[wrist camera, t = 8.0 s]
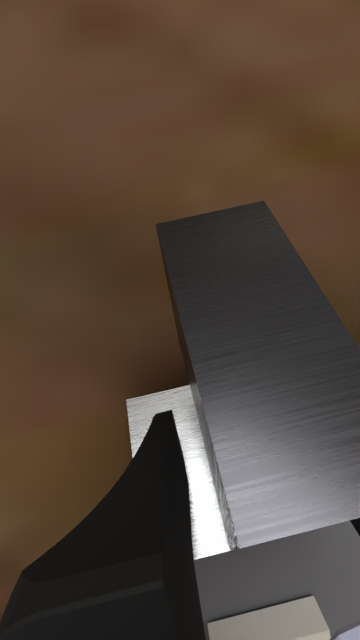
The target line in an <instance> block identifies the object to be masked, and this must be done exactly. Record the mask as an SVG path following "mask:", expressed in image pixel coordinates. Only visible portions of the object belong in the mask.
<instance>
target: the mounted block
mask: <svg viewBox="0 0 360 640" xmlns="http://www.w3.org/2000/svg"><path fill="white" fill-rule="evenodd" d="M156 228H157V233H158V238H159V243H160V248H161V253H162V258H163V263H164V268H165V273H166V278H167V283H168V288H169V293H170V298H171V303H172V308H173V313H174V318H175V323H176V328H177V333H178V338H179V343H180V347H181V351H182V355H183V360H184V364H185V368H186V372H187V376H188V380H189V384H190V385H187V386H183V387H179V388H174V389H170V390H166V391H162V392H157V393H153V394H149V395H145V396H141V397H136V398H132V399H128V400H126V402H127V411H128V420H129V429H130V439H131V448H132V457H134V456H135V454H136V452H137V450H138V449H139V447H140V445H141V443H142V441H143V439H144V437H145V435H146V433H147V431H148V429H149V426H150V424H151V422H152V419H153V417H154V415H155V414H156V413H160V412H165V411H169V410H172V411H173V415H174V420H175V424H176V428H177V432H178V436H179V440H180V445H181V449H182V453H183V457H184V462H185V468H186V474H187V479H188V487H189V501H190V516H191V531H192V547H193V557H194V560H196V559H200V558H204V557H208V556H212V555H215V554H219V553H223V552H227V551H232V550H236V549H241V548H245V547H248V546H252V545H256V544H260V543H264V542H268V541H272V540H276V539H280V538H283V537H287V536H291V535H295V534H299V533H303V532H307V531H311V530H314V529H318V528H322V527H326V526H330V525H334V524H338V523H342V522H346V521H349V520H353V519H357V518H360V349H359V348H358V346H357V345H356V343H355V342H354V340H353V339H352V337H351V335H350V334H349V332H348V331H347V329H346V328H345V326H344V325H343V323H342V321H341V320H340V318H339V317H338V315H337V314H336V312H335V311H334V309H333V307H332V306H331V304H330V303H329V301H328V300H327V298H326V297H325V295H324V293H323V292H322V290H321V289H320V287H319V286H318V284H317V283H316V281H315V279H314V278H313V276H312V275H311V273H310V272H309V270H308V269H307V267H306V266H305V264H304V262H303V261H302V259H301V258H300V256H299V255H298V253H297V252H296V250H295V248H294V247H293V245H292V244H291V242H290V241H289V239H288V238H287V236H286V234H285V233H284V231H283V230H282V228H281V227H280V225H279V224H278V222H277V220H276V219H275V217H274V216H273V214H272V213H271V211H270V210H269V208H268V206H267V205H266V203H265V202H264V201H261V202H256V203H251V204H247V205H242V206H238V207H233V208H228V209H224V210H219V211H214V212H210V213H205V214H201V215H196V216H191V217H187V218H182V219H178V220H173V221H168V222H164V223H159V224H156Z"/></svg>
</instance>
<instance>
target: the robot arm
mask: <svg viewBox="0 0 360 640" xmlns="http://www.w3.org/2000/svg"><path fill="white" fill-rule="evenodd" d="M350 522H351V523H352V525H353V526H354V528H355V530H356V531H357V533H358V534H359V536H360V518H357V519H353V520H350ZM0 640H206V637H205V630H204V624H203V618H202V611H201V605H200V599H199V592H198V585H197V579H196V572H195V566H194V557H193V547H192V531H191V516H190V501H189V487H188V479H187V474H186V468H185V462H184V457H183V453H182V449H181V445H180V440H179V436H178V432H177V428H176V424H175V420H174V415H173V411H172V410H169V411H165V412H160V413H156V414H155V415H154V417H153V419H152V422H151V424H150V426H149V429H148V431H147V433H146V435H145V437H144V439H143V441H142V443H141V445H140V447H139V449H138V450H137V452H136V454H135V456H134V457H133V459H132V460H131V462H130V464H129V465H128V467H127V469H126V470H125V472H124V473H123V475H122V476H121V477H120V479H119V480H118V481H117V483H116V484H115V485H114V487H113V488H112V489H111V490H110V492H109V493H108V494H107V495H106V496H105V497H104V498H103V499H102V500H101V502H100V503H99V504H98V505H97V506H96V507H95V508H94V509H93V510H92V512H91V513H90V514H89V515H88V516H87V517H86V518H85V519H84V520H82V521H81V522H80V523H79V524H78V525H77V526H76V527H75V528H74V529H73V530H72V531H71V532H70V533H69V534H67V535H66V536H65V537H64V538H63V539H62V540H61V541H59V542H58V543H57V544H56V545H55V546H53V547H52V548H51V549H50V550H48V551H47V552H46V553H44V554H43V555H42V556H41V557H39V558H38V559H37V560H36V561H34V562H33V563H32V564H31V565H29V566H28V567H27V568H25V569H24V570H23V571H22V573H21V575H20V577H19V579H18V581H17V583H16V585H15V587H14V590H13V592H12V594H11V596H10V599H9V601H8V604H7V606H6V609H5V611H4V614H3V616H2V619H1V621H0ZM330 640H360V620H359V621H356V622H354V623H352V624H350V625H348V626H346V627H344V628H342V629H340V630H338V631H337V632H336V633H335V634H334V635H333V636H332V637H331V639H330Z"/></svg>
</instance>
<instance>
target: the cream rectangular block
mask: <svg viewBox="0 0 360 640" xmlns="http://www.w3.org/2000/svg"><path fill="white" fill-rule="evenodd" d="M207 625H208V632H209V638H210V640H330V639H331V638H330V630H329V628H328V626H327V623H326V621H325V619H324V617H323V615H322V613H321V610H320V608H319V606H318V604H317V602H316V600H315V597H314V596H310V597H305V598H301V599H298V600H294V601H290V602H286V603H282V604H279V605H275V606H271V607H267V608H263V609H260V610H256V611H252V612H248V613H244V614H241V615H237V616H233V617H229V618H225V619H222V620H218V621H214V622H211V623H207Z"/></svg>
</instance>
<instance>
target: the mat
mask: <svg viewBox="0 0 360 640" xmlns="http://www.w3.org/2000/svg"><path fill="white" fill-rule="evenodd" d="M194 566H195V572H196V579H197V585H198V592H199V599H200V605H201V611H202V618H203V624H204V630H205V637H206V640H210V638H209V632H208V625H207V623H211V622H214V621H218V620H222V619H225V618H229V617H233V616H237V615H241V614H244V613H248V612H252V611H256V610H260V609H263V608H267V607H271V606H275V605H279V604H282V603H286V602H290V601H294V600H298V599H301V598H305V597H310V596H314V597H315V600H316V602H317V604H318V606H319V608H320V610H321V613H322V615H323V617H324V619H325V621H326V623H327V626H328V628H329V630H330V638H331V637H332V636H333V635H334V634H335V633H336V632H337V631H338V630H340V629H342V628H344V627H346V626H348V625H350V624H352V623H354V622H356V621H359V620H360V536H359V534H358V533H357V531H356V530H355V528H354V526H353V525H352V523H351V522H350V520H349V521H346V522H342V523H338V524H334V525H330V526H326V527H322V528H318V529H314V530H311V531H307V532H303V533H299V534H295V535H291V536H287V537H283V538H280V539H276V540H272V541H268V542H264V543H260V544H256V545H252V546H248V547H245V548H241V549H236V550H232V551H227V552H223V553H219V554H215V555H212V556H208V557H204V558H200V559H196V560H194Z"/></svg>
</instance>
